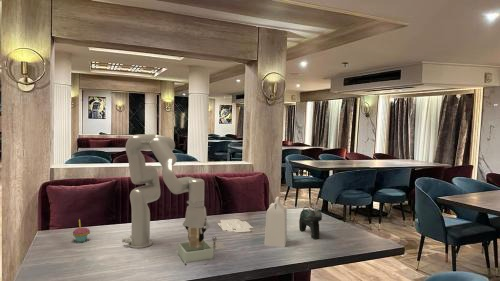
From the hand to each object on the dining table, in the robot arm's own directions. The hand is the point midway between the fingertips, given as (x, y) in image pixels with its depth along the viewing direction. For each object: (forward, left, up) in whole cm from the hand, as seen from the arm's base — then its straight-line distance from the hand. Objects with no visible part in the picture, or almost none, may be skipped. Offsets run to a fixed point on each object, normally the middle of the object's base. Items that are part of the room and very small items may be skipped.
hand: (195, 239), depth 166 cm
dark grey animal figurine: (+75, +8, -9) cm, 76 cm away
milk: (+49, +4, -9) cm, 50 cm away
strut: (0, 0, -3) cm, 3 cm away
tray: (+39, +41, -10) cm, 58 cm away
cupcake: (-51, +47, -9) cm, 70 cm away
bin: (0, 0, -9) cm, 9 cm away
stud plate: (+13, +8, -9) cm, 18 cm away
